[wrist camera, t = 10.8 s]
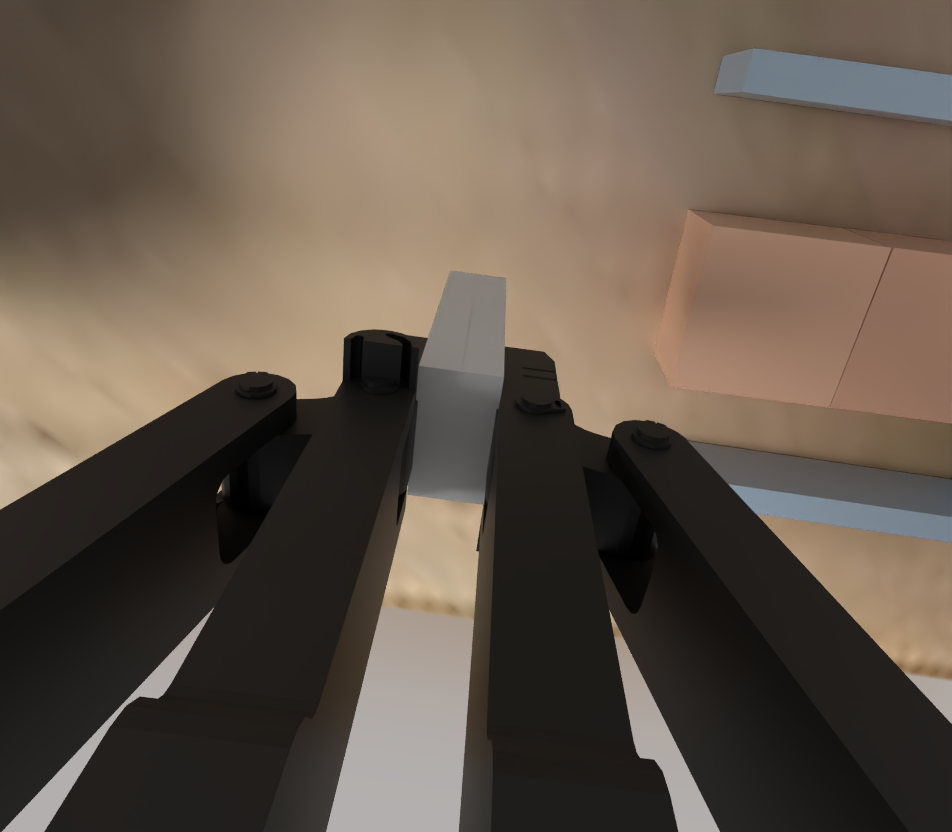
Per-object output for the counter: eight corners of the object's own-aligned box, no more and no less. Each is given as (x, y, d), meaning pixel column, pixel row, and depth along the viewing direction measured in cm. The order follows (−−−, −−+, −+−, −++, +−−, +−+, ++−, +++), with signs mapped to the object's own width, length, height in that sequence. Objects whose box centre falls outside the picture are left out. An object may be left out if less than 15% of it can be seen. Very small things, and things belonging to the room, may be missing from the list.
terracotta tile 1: (652, 350, 28) (670, 387, 24) (687, 208, 25) (713, 225, 22) (790, 368, 28) (829, 407, 24) (840, 227, 25) (891, 247, 21)
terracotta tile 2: (790, 368, 28) (829, 407, 24) (841, 226, 25) (893, 247, 21) (929, 386, 28) (988, 428, 24) (995, 246, 25) (1073, 270, 21)
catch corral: (619, 453, 30) (630, 495, 27) (723, 55, 23) (754, 48, 19) (965, 505, 30) (1016, 552, 26) (1183, 119, 22) (1289, 121, 19)
